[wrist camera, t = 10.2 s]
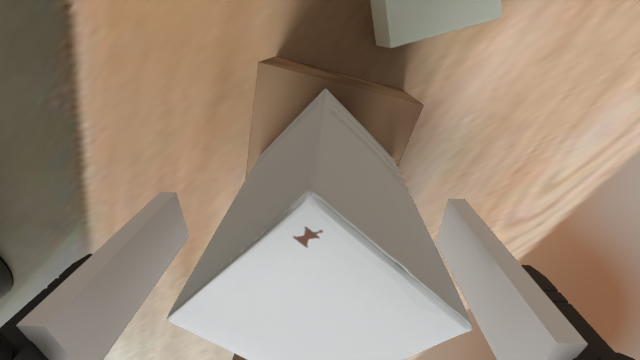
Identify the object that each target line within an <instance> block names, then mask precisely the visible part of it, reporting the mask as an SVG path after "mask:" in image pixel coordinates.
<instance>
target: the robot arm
mask: <svg viewBox="0 0 640 360" xmlns="http://www.w3.org/2000/svg"><path fill="white" fill-rule="evenodd" d="M188 238H189V233H188V230H187V227H186V223H185V220H184V217H183V214H182V210H181V207H180V204H179V200H178V197H177V194H176V192H160V193H159V194H158V195H157V196H156V197H155V198H154V199H153V200H151V201H150V202H149V203H148V204H147V205H146V206H145V207H144V208H143V209H142V210H141V211H140V212H138V213H137V214H136V215H135V216H134V217H133V218H132V219H131V220H130V221H129V222H128V223H126V224H125V225H124V226H123V227H122V228H121V229H120V230H119V231H118V232H117V233H116V234H115V235H113V236H112V237H111V238H110V239H109V240H108V241H107V242H106V243H105V244H104V245H103V246H102V247H100V248H99V249H98V250H97V251H96V252H95V253H94V254H88V255H87V256H85V257H83V258H82V259H80V260H78V261H77V262H75V263H73V264H72V265H71V266H70V267H68V268H67V269H66V270H65V271H64V272H63V273H62V274H61V275H59V278H58V279H57V278H56V279H55V280H54V281H53V282H52V283H50V284H49V285H48V287H47V289H44V290H43V291H41V292H40V293H39V294H38V295H37V296H36V297H35V298H33V299H32V300H31V301H30V302H29V303H28V304H27V305H26V306H24V307H23V308H22V309H21V310H20V311H19V312H18V313H17V314H15V315H14V316H13V317H12V318H11V319H10V320H9V321H7V322H6V323H5V324H4V325H3V326H2V327H1V328H0V360H103V359H104V358H105V356H106V355H107V354H108V352H109V351H110V349H111V348H112V346H113V345H114V344H115V342H116V341H117V339H118V338H119V336H120V335H121V333H122V332H123V331H124V329H125V328H126V326H127V325H128V323H129V322H130V321H131V319H132V318H133V316H134V315H135V313H136V312H137V311H138V309H139V308H140V306H141V305H142V303H143V302H144V301H145V299H146V298H147V296H148V295H149V293H150V292H151V291H152V289H153V288H154V286H155V285H156V283H157V282H158V280H159V279H160V278H161V276H162V275H163V273H164V272H165V270H166V269H167V268H168V266H169V265H170V263H171V262H172V260H173V259H174V258H175V256H176V255H177V253H178V252H179V250H180V249H181V248H182V246H183V245H184V243H185V242H186V240H187V239H188ZM436 245H437V247H438V249H439V251H440V252H441V254H442V256H443V258H444V260H445V262H446V264H447V266H448V268H449V269H450V271H451V273H452V275H453V277H454V279H455V281H456V283H457V285H458V287H459V288H460V290H461V292H462V294H463V296H464V298H465V300H466V302H467V304H468V306H469V307H470V309H471V311H472V313H473V315H474V317H475V319H476V321H477V323H478V324H479V326H480V328H481V330H482V332H483V334H484V335H485V338H486V340H487V341H488V343H489V345H490V347H491V349H492V351H493V353H494V355H495V357H496V359H497V360H635V359H633V358H631V357H628V356H626V355H623V354H621V353H615V352H614V351H613V350H612V349H611V348H610V347H609V346H608V345H607V343H606V342H605V341H604V340H603V339H602V338H601V337H600V336H599V335H598V334H597V332H596V331H595V330H594V329H593V328H592V327H591V326H590V325H589V324H588V323H587V322H586V320H585V319H584V318H583V317H582V316H581V315H580V314H579V313H578V312H577V311H576V309H575V308H573V306H572V305H571V304H568V301H567V300H566V298H564V296H563V295H562V294H561V293H558V290H557V289H556V288H555V286H553V284H552V283H551V282H550V281H549V280H548V279H547V278H546V277H545V276H544V275H542V274H541V273H540V272H538V271H537V270H536V269H534V268H533V267H531V266H530V265H520V264H519V262H518V261H517V260H516V259H515V258H514V257H513V255H512V254H511V253H510V252H509V251H508V249H507V248H506V247H505V246H504V245H503V244H502V242H501V241H500V240H499V239H498V238H497V237H496V235H495V234H494V233H493V232H492V231H491V230H490V228H489V227H488V226H487V225H486V224H485V222H484V221H483V220H482V219H481V218H480V217H479V215H478V214H477V213H476V212H475V211H474V210H473V208H472V207H471V206H470V205H469V204H468V202H467V201H466V200H465V199H448V203H447V206H446V209H445V213H444V216H443V219H442V223H441V226H440V229H439V233H438V236H437V239H436ZM11 288H12V277H11V274H10V272H9V270H8V269H7V267H6V266H5V264H4V263H3V262H2V261H1V260H0V298H2V297H3V296H4V295H5V294H7V293H8V292H9V291H10V290H11Z"/></svg>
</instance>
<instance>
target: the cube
mask: <svg viewBox="0 0 640 360" xmlns="http://www.w3.org/2000/svg"><path fill="white" fill-rule="evenodd" d="M370 4H371V11H372V19H373V26H374V33H375V41H376V46H381V47H387V48H393V47H397V46H401V45H404V44H408V43H412V42H415V41H419V40H423V39H426V38H430V37H434V36H437V35H441V34H445V33H448V32H452V31H456V30H459V29H463V28H467V27H470V26H474V25H478V24H481V23H485V22H488V21H492V20H496V19H499V18H501V4H502V0H370Z"/></svg>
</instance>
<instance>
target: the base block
mask: <svg viewBox="0 0 640 360" xmlns="http://www.w3.org/2000/svg"><path fill="white" fill-rule="evenodd" d="M324 89H327V90H328V91H329V92H330V93H331V94H332V95H333V96H334V97H335V98H336V99H337V100H338V101H339V102H340V103H341V104H342V105H343V106H344V107H345V108H346V109H347V110H348V111H349V113H350V114H351V115H352V116H353V117H354V118H355V119H356V120H357V121H358V122H359V123H360V124H361V125H362V126H363V127H364V128H365V129H366V130H367V131H368V132H369V133H370V134H371V135H372V136H373V137H374V139H375V140H376V141H377V142H378V143H379V144H380V145H381V146H382V147H383V148H384V149H385V150H386V151H387V153H388V154H389V155H390V156H391V157H392V158H393V160H394V162H395V164H396V166H398V164H399V162H400V159H401V157H402V155H403V152H404V150H405V148H406V145H407V143H408V141H409V138H410V136H411V134H412V131H413V129H414V127H415V124H416V122H417V120H418V117H419V115H420V113H421V110H422V108H423V106H424V105H423V104H421V103H420V102H419V101H417V100H416V99H415V98H413V97H412V96H410V95H409V94H408V93H406V92H405V91H404V90H401V89H397V88H393V87H389V86H386V85H382V84H378V83H374V82H370V81H367V80H363V79H359V78H355V77H351V76H348V75H344V74H340V73H336V72H332V71H329V70H325V69H321V68H317V67H314V66H310V65H306V64H302V63H298V62H295V61H291V60H287V59H283V58H279V57H273V58H270V59H266V60H263V61H260V62H258V70H257V79H256V88H255V97H254V106H253V115H252V124H251V133H250V143H249V152H248V161H247V170H246V178H247V177H248V175H249V173H250V172H251V170H252V168H253V166H254V165H255V163H256V161H257V159H258V157H259V156H260V155H261V154H262V153H263V152H264V151H265V150H266V149H267V148H268V147H269V146H270V145H271V143H272V142H273V141H274V140H275V139H276V138H277V137H278V136H279V135H280V134H281V133H282V132H283V131H284V130H285V129H286V128H287V127H288V126H289V125H290V124H291V123H292V122H293V121H294V120H295V119H296V118H297V117H298V116H299V115H300V114H301V113H302V112H303V111H304V110H305V108H306V107H307V106H308V105H309V104H310V103H311V102H312V101H313V100H314V99H315V98H316V97H317V96H318V95H319V94H320V93H321V92H322V91H323V90H324ZM245 180H246V179H245Z"/></svg>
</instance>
